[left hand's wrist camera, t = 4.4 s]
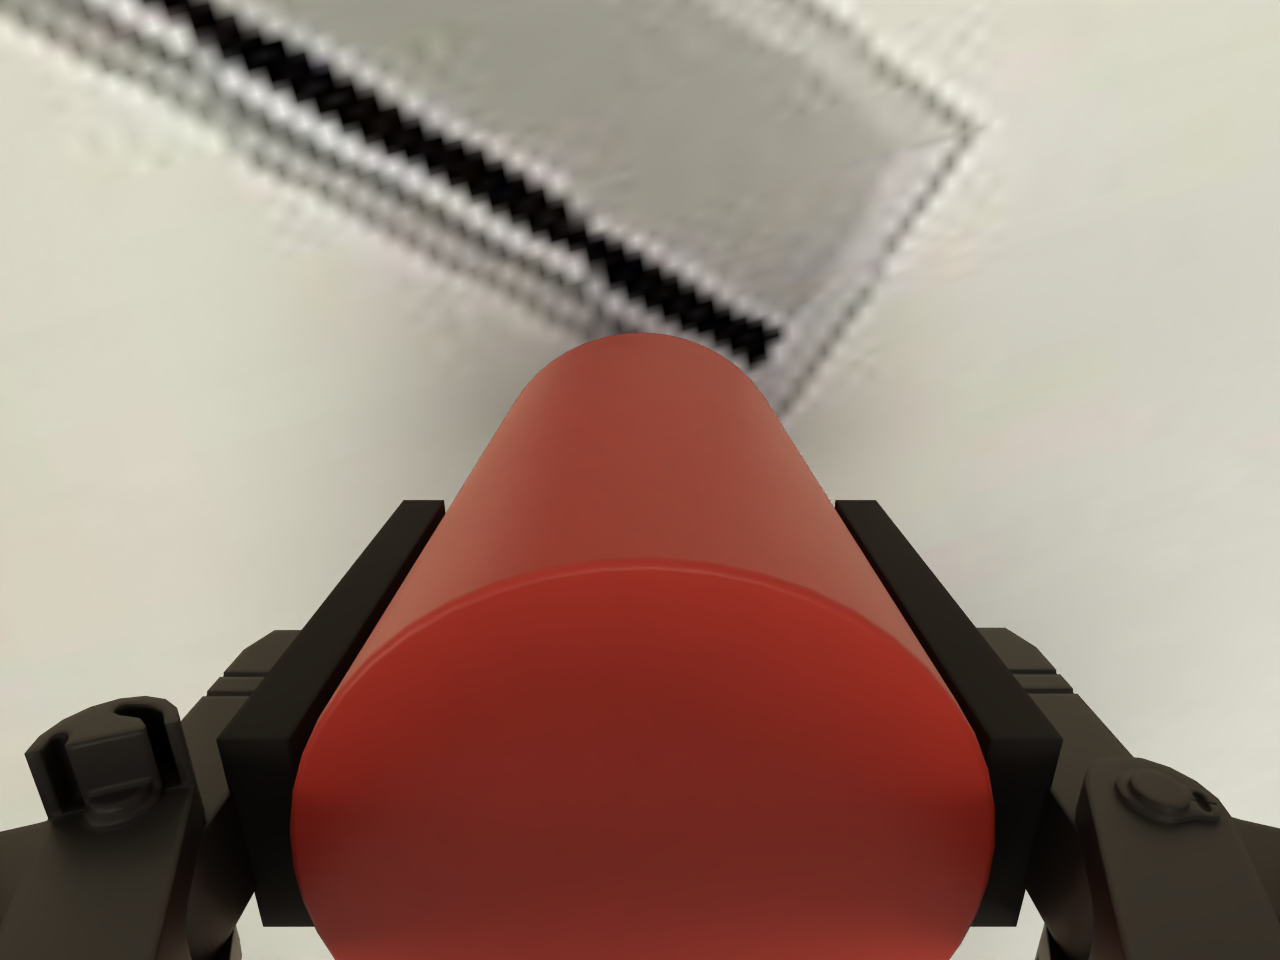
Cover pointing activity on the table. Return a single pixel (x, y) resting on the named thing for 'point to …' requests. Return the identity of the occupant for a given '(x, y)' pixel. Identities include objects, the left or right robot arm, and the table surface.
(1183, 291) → the table surface
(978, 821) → the canister
